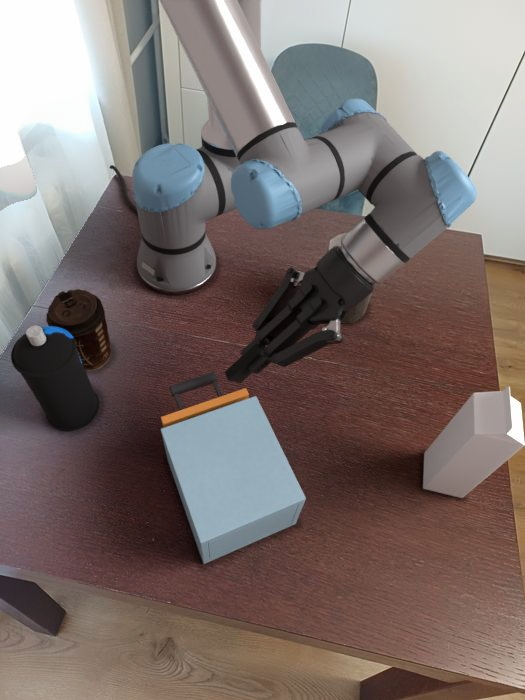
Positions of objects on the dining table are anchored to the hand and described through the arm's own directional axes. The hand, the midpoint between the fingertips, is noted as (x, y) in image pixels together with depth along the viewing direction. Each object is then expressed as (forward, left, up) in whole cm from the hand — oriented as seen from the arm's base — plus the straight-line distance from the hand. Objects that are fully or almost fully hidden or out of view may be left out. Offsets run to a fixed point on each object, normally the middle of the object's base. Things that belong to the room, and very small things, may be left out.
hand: (232, 377), depth 71 cm
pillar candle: (-14, +28, -11) cm, 33 cm away
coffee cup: (-19, -18, -11) cm, 28 cm away
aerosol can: (-10, -23, -11) cm, 27 cm away
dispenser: (+12, -5, -11) cm, 17 cm away
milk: (+22, +26, -11) cm, 36 cm away
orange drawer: (+6, -5, -10) cm, 13 cm away
